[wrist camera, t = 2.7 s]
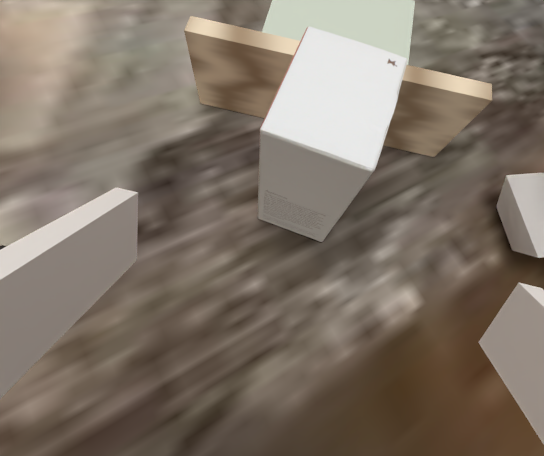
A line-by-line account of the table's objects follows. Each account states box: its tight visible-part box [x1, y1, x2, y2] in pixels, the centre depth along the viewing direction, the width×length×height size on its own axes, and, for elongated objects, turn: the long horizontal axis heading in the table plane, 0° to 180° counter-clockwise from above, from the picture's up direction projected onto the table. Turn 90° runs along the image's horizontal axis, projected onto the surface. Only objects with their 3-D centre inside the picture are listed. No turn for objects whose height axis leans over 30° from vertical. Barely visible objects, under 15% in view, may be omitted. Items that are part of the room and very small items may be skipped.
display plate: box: [262, 0, 415, 65], centre depth 35 cm, size 16×16×1 cm
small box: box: [258, 26, 408, 242], centre depth 23 cm, size 8×6×13 cm
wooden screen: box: [184, 16, 492, 157], centre depth 28 cm, size 24×2×8 cm, turn 77°
